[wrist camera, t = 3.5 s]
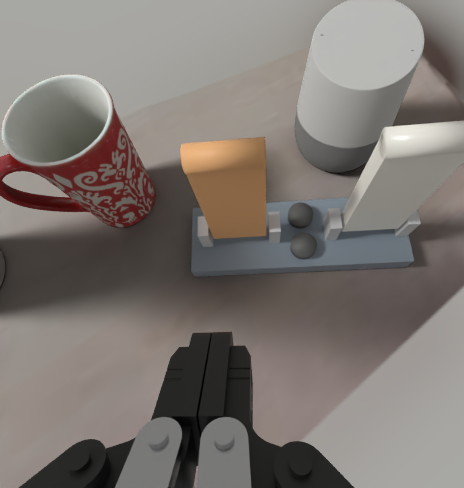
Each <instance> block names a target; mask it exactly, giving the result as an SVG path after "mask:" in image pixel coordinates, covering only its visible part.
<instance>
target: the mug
mask: <svg viewBox="0 0 464 488" xmlns="http://www.w3.org/2000/svg"><path fill="white" fill-rule="evenodd" d="M1 134H2V141H3V143H4V146H5V148H6V150H7V151H8V153H9V154H7V155H4V156H2V157H0V196H2V197H3V198H4V199H6V200H8V201H10V202H12V203H14V204H17V205H20V206H23V207H27V208H33V209H39V210H47V211H59V212H91V213H92V214H93V215H94V216H96V217H97V218H98V219H99V220H101V221H102V222H104V223H105V224H107V225H110V226H113V227H128V226H131V225H134V224H136V223H138V222H140V221H141V220H142V219H144V218H145V217H146V216H147V215H148V214H149V212H150V211H151V209H152V207H153V205H154V202H155V189H154V186H153V184H152V182H151V180H150V178H149V176H148V174H147V172H146V170H145V168H144V166H143V164H142V162H141V160H140V158H139V156H138V154H137V152H136V150H135V148H134V146H133V144H132V142H131V140H130V138H129V136H128V134H127V132H126V130H125V128H124V126H123V124H122V122H121V120H120V118H119V117H118V115H117V113H116V111H115V109H114V105H113V100H112V97H111V95H110V93H109V92H108V90H107V89H106V88H105V87H104V86H103V85H102V84H101V83H100V82H98V81H97V80H95V79H93V78H90V77H87V76H83V75H76V74H68V75H60V76H55V77H52V78H49V79H46V80H43V81H41V82H39V83H37V84H35V85H33V86H32V87H30V88H29V89H27V90H26V91H25V92H24V93H22V94H21V95H20V96H19V97H18V98H17V99H16V100H15V101H14V102H13V103H12V105H11V106H10V108H9V109H8V111H7V113H6V115H5V117H4V120H3V124H2V131H1ZM16 171H28V172H32V173H35V174H38V175H40V176H42V177H44V178H45V179H47V180H48V181H49V182H50V183H52V184H53V185H55V186H56V187H57V188H59V189H60V190H61V191H63V192H64V193H65V194H67V195H68V196H69V197H68V198H66V197H52V196H44V195H37V194H31V193H27V192H22V191H19V190H16V189H14V188H11V187H10V186H8V185H6V184H5V183H4V182H3V181H2V179H3V178H4V177H5V176H6V175H8V174H10V173H12V172H16Z"/></svg>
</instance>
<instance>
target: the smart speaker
mask: <svg viewBox="0 0 464 488" xmlns="http://www.w3.org/2000/svg"><path fill="white" fill-rule="evenodd" d="M423 47H424V33H423V29H422V26H421V23H420V21H419V20H418V18H417V16H416V15H415V14H414V13H413V12H412V11H411V10H410V9H409V8H408V7H406V6H405V5H403V4H402V3H400V2H397V1H395V0H348V1H346V2H343V3H341V4H340V5H338V6H336V7H335V8H333V9H332V10H331V11H329V12H328V13H327V14H326V15H325V16H324V17H323V19H322V20H321V21H320V22H319V24H318V26H317V27H316V30H315V32H314V35H313V38H312V42H311V46H310V51H309V55H308V60H307V64H306V69H305V73H304V78H303V82H302V87H301V91H300V96H299V100H298V105H297V111H296V117H295V138H296V142H297V145H298V148H299V150H300V152H301V154H302V155H303V157H304V158H305V159H306V160H307V161H308V162H309V163H310V164H312V165H313V166H315V167H317V168H319V169H321V170H324V171H328V172H346V171H350V170H353V169H356V168H358V167H360V166H361V165H363V164H365V163H366V162H367V161H368V160H369V158H370V156H371V155H372V153H373V151H374V149H375V147H376V145H377V143H378V141H379V139H380V135H381V132H382V130H383V129H384V128H385V127H391V126H392V125H393V123H394V120H395V118H396V116H397V113H398V111H399V108H400V106H401V103H402V101H403V99H404V96H405V94H406V91H407V89H408V86H409V84H410V82H411V79H412V77H413V74H414V72H415V70H416V67H417V65H418V62H419V60H420V57H421V54H422V51H423Z"/></svg>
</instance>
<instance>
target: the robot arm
mask: <svg viewBox="0 0 464 488" xmlns="http://www.w3.org/2000/svg"><path fill="white" fill-rule="evenodd" d="M4 274H5V260H4V257H3V254H2V252H1V251H0V287H1V285H2V282H3V278H4ZM196 466H198V476H197V488H354V487H353V486H352V485H351V484H350V483H349V482H348V481H347V480H346V479H345V478H344V477H343V476H342V475H341V474H340V472H338V471H337V469H336V468H335V467H334V466H333V465H332V464H331V463H330V462H329V461H328V460H327V459H326V458H325V457H324V456H323V455H322V454H321V453H320V452H319V451H318V450H317V449H316V448H315V447H313V446H312V445H310V444H308V443H305V442H299V441H294V442H289V443H287V444H285V445H284V446H282V447H280V446H277V445H274V444H271V443H269V442H266V441H264V440H263V439H261V438H260V437H259V436H258V435H257V434H256V433H255V431H254V430H253V382H252V369H251V356H250V354H249V352H248V350H247V348H246V347H245V346H233V337H232V332H213V333H193V334H192V337H191V341H190V345H189V347H179V348H178V349H177V351H176V352H175V353H174V354H173V355H172V357H171V359H170V362H169V365H168V368H167V371H166V375H165V378H164V381H163V384H162V387H161V391H160V394H159V397H158V400H157V403H156V407H155V410H154V413H153V416H152V419H151V421H150V422H148V423H147V424H145V425H144V426H143V427H142V428H141V429H140V431H139V432H138V434H137V436H136V438H134V439H132V440H130V441H128V442H125V443H122V444H119V445H116V446H113V447H109V448H106V449H105V447H104V445H103V444H102V443H101V442H100V441H98V440H95V439H88V440H83V441H81V442H78V443H76V444H74V445H73V446H71V447H70V448H69V449H67V450H66V451H65V452H64V453H62V454H61V455H60V456H59V457H57V458H56V459H55V460H53V461H52V462H51V463H50V464H48V465H47V466H46V467H45V468H43V469H42V470H41V471H39V472H38V473H37V474H36V475H34V476H33V477H32V478H31V479H29V480H28V481H27V482H26V483H24V484H23V485H22V486H20V487H19V488H194V479H195V472H196Z"/></svg>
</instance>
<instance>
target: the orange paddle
mask: <svg viewBox="0 0 464 488" xmlns="http://www.w3.org/2000/svg"><path fill="white" fill-rule="evenodd" d="M181 162H182V167H183V171H184V173H185V174H186V175H187V178H188V180H189V182H190V185H191V187H192V189H193V192H194V194H195V196H196V198H197V201H198V203H199V205H200V208H201V210H202V212H203V215H204V217H205V219H206V222H207V224H208V226H209V229H210V231H211V233H212V235H213V238H214V239H221V238H239V237H256V236H266V149H265V137H258V138H246V139H234V140H222V141H210V142H198V143H186V144H182V145H181Z"/></svg>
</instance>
